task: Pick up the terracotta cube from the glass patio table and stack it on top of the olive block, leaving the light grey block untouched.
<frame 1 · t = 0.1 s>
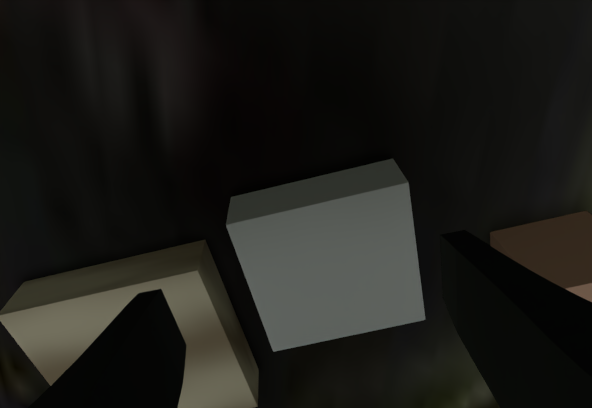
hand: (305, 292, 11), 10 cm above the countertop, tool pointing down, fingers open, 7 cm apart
grey block: (326, 241, 23), on the countertop
olive block: (152, 324, 25), on the countertop
terracotta cube: (535, 258, 24), on the countertop
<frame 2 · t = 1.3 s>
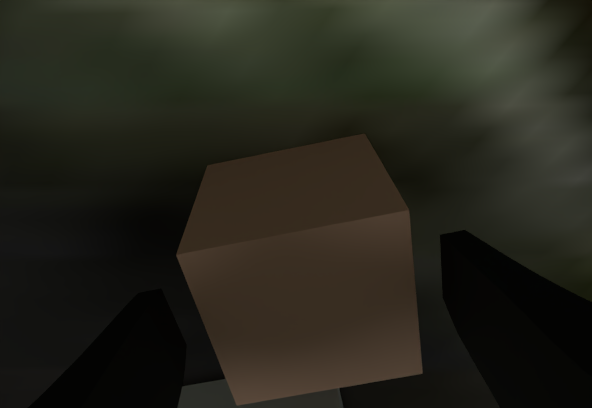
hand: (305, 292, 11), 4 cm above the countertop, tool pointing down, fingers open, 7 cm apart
terracotta cube: (300, 216, 15), on the countertop
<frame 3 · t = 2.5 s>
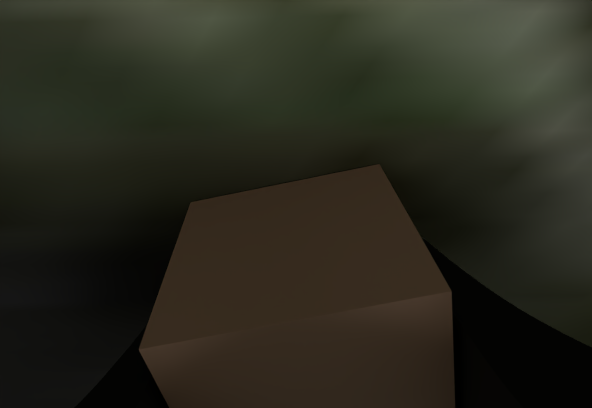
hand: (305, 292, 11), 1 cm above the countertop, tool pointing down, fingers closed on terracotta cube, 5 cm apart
terracotta cube: (302, 260, 12), on the countertop, touching gripper
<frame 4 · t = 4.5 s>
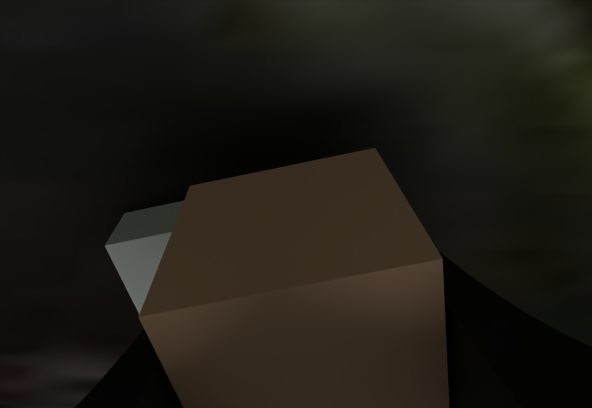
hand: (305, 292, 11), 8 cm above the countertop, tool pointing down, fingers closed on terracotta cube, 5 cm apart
grey block: (236, 261, 21), on the countertop
terracotta cube: (299, 244, 12), point 7 cm above the countertop, touching gripper
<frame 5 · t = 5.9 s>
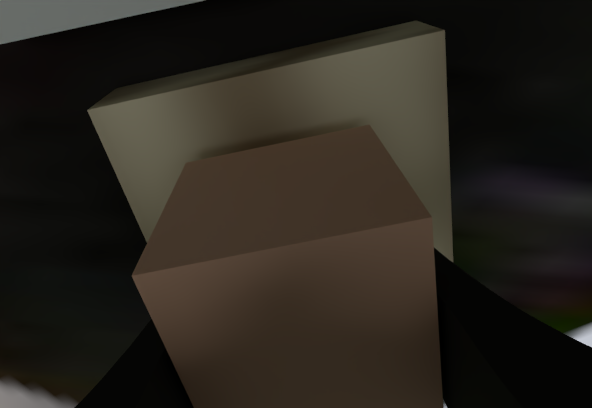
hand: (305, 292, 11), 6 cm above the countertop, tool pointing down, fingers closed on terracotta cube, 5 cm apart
olive block: (294, 184, 17), on the countertop
terracotta cube: (295, 223, 13), point 4 cm above the countertop, touching gripper
when the fingers open (6 cm above the countertop, at t = 6.8 s): terracotta cube drops 1 cm, resting on olive block.
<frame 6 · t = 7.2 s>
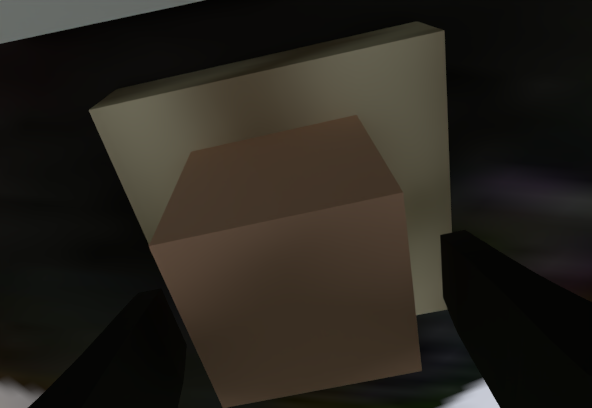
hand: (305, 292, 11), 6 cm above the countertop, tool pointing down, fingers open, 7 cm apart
olive block: (294, 184, 17), on the countertop, touching terracotta cube
terracotta cube: (291, 206, 14), point 2 cm above the countertop, touching olive block
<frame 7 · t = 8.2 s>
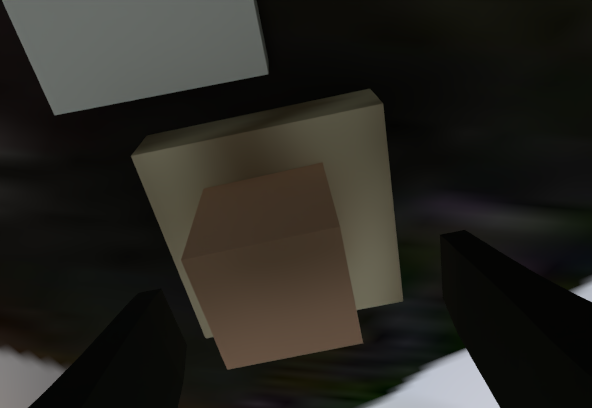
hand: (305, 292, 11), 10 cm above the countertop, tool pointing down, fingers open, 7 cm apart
olive block: (280, 204, 22), on the countertop
terracotta cube: (276, 226, 19), point 2 cm above the countertop
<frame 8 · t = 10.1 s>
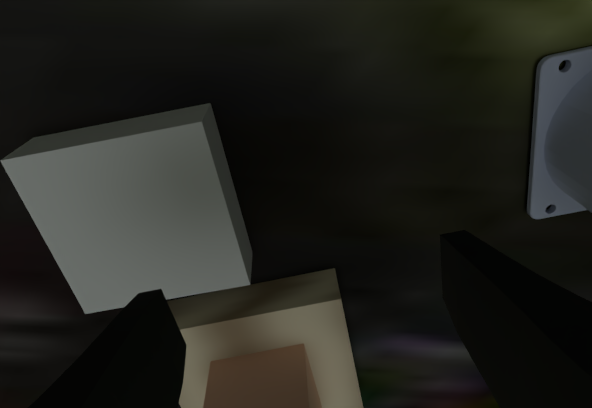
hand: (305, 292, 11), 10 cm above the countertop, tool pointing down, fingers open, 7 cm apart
grey block: (154, 196, 21), on the countertop
olive block: (266, 343, 26), on the countertop, touching terracotta cube
terracotta cube: (268, 384, 24), point 2 cm above the countertop, touching olive block
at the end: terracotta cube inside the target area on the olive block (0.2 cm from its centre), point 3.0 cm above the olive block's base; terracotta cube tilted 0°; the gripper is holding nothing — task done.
